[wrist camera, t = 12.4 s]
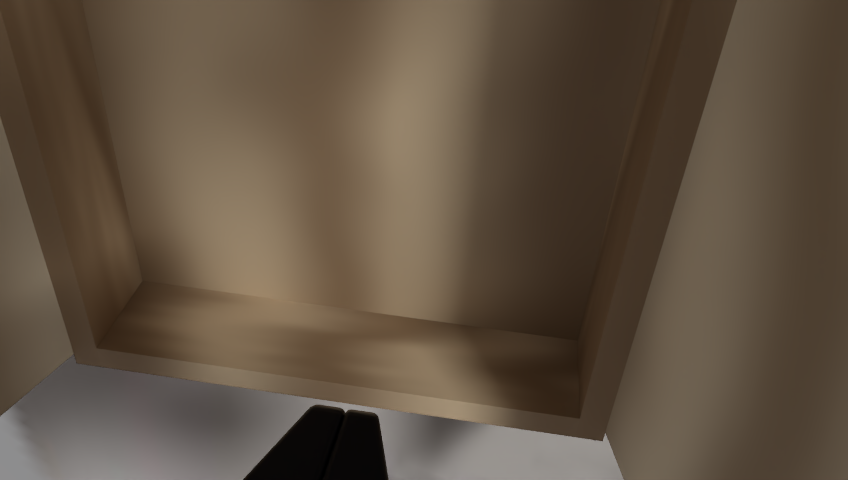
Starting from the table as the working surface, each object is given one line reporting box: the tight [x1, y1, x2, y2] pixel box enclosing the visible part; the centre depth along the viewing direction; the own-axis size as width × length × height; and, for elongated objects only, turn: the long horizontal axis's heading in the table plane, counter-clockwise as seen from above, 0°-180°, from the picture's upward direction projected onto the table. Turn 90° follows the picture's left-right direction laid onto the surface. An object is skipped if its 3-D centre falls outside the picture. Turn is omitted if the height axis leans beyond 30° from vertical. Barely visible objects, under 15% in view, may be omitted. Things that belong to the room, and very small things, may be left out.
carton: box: [0, 0, 737, 441], centre depth 18 cm, size 16×20×4 cm
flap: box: [605, 0, 848, 480], centre depth 13 cm, size 8×19×1 cm
